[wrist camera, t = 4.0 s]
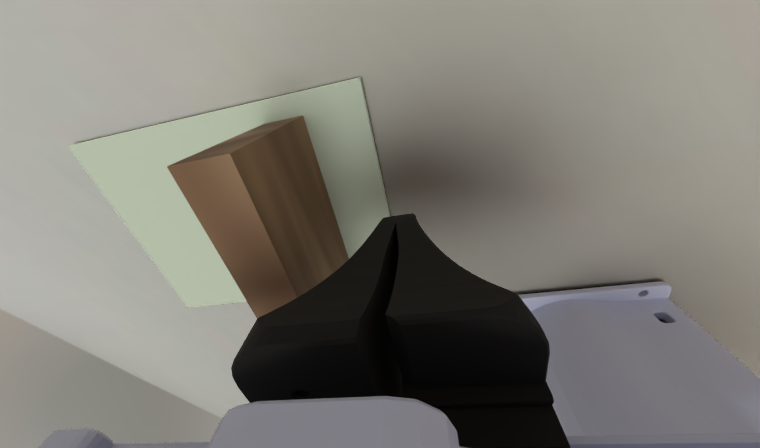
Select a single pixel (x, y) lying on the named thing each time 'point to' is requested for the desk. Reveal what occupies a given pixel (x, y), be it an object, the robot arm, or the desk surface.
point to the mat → (194, 134)
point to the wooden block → (265, 211)
